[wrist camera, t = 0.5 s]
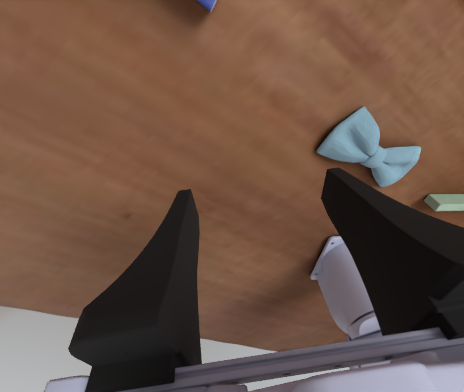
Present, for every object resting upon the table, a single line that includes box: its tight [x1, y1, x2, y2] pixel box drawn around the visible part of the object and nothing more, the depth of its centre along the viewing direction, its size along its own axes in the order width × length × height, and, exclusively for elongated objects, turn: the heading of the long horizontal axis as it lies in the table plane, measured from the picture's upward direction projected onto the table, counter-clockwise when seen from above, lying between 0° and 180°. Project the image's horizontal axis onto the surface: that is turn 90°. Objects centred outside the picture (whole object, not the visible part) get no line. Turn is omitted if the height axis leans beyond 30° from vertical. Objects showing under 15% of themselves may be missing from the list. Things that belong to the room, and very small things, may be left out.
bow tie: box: [317, 107, 421, 187], centre depth 21 cm, size 10×2×5 cm
